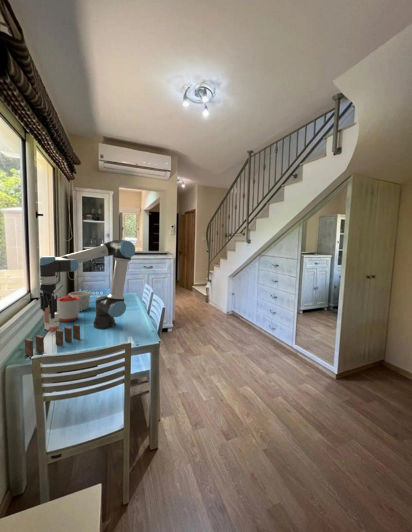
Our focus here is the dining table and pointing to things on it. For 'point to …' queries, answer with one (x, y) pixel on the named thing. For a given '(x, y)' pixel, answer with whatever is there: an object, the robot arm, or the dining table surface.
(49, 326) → the ink cartridge box
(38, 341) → the domino
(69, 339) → the domino
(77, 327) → the domino
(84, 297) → the planter
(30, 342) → the domino
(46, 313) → the domino
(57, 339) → the domino
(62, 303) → the citrus juicer
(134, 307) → the dining table surface
